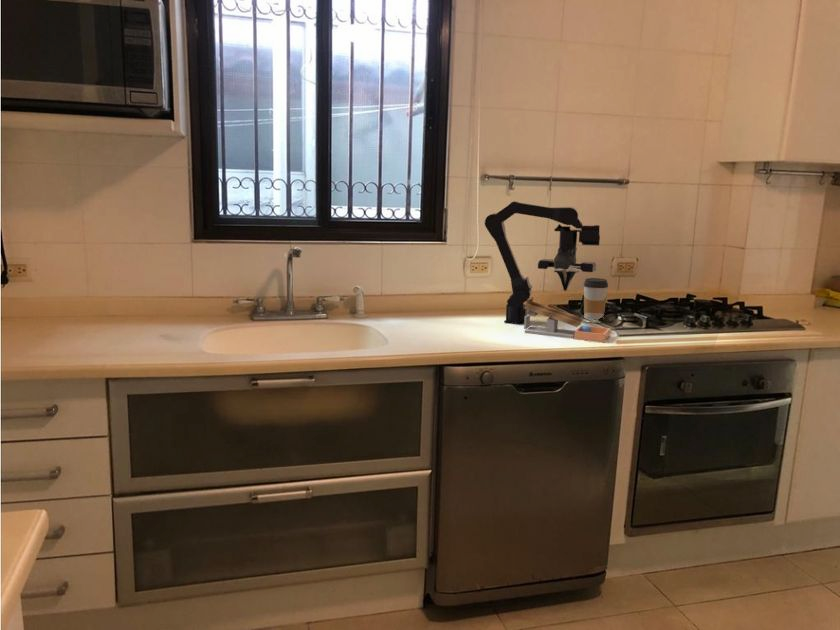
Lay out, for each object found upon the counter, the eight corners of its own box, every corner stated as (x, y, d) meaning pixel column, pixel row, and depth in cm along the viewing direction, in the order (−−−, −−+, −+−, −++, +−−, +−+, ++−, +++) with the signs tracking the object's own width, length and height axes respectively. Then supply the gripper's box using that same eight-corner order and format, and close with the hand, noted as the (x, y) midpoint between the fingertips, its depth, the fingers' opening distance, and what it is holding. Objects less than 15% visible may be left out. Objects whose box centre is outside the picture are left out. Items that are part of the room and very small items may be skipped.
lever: (523, 313, 215) (527, 299, 214) (532, 307, 224) (536, 294, 222) (575, 331, 208) (579, 317, 207) (583, 325, 217) (587, 312, 215)
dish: (574, 339, 207) (574, 331, 206) (581, 333, 215) (582, 325, 214) (604, 342, 202) (604, 334, 202) (610, 336, 210) (610, 328, 210)
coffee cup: (606, 324, 227) (609, 282, 224) (581, 323, 229) (584, 281, 225) (604, 319, 235) (607, 278, 232) (581, 318, 237) (583, 277, 233)
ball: (579, 335, 209) (580, 325, 208) (581, 333, 212) (583, 323, 211) (589, 337, 207) (590, 327, 207) (591, 335, 210) (593, 325, 209)
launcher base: (522, 332, 215) (522, 317, 214) (529, 327, 222) (530, 313, 221) (573, 338, 207) (573, 323, 206) (579, 333, 214) (580, 318, 213)
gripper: (533, 245, 218) (531, 291, 221) (589, 248, 210) (587, 296, 213) (543, 242, 228) (541, 287, 231) (597, 245, 219) (595, 291, 223)
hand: (565, 290), depth 224 cm, fingers closed
